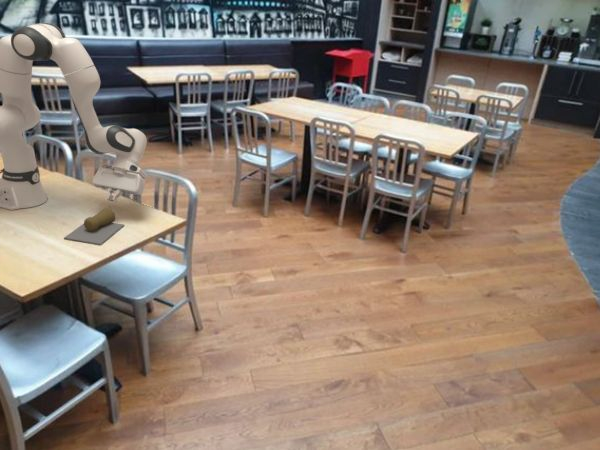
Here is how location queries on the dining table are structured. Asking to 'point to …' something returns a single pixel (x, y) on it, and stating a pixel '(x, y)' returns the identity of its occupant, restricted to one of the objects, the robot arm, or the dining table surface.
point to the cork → (99, 219)
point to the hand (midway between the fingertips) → (111, 200)
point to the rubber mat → (94, 234)
